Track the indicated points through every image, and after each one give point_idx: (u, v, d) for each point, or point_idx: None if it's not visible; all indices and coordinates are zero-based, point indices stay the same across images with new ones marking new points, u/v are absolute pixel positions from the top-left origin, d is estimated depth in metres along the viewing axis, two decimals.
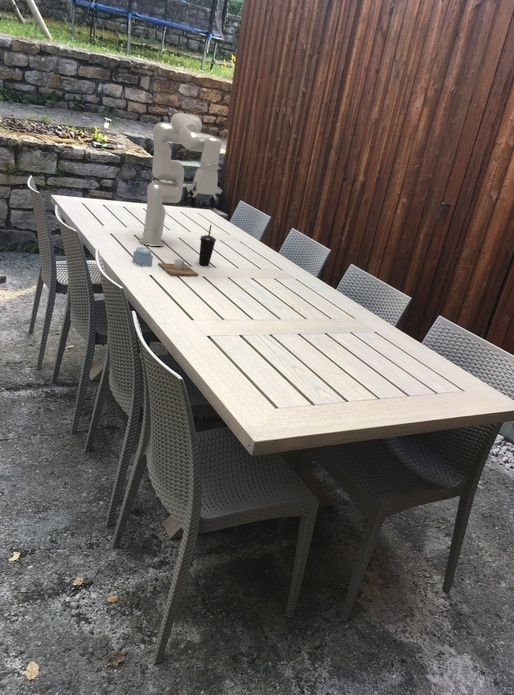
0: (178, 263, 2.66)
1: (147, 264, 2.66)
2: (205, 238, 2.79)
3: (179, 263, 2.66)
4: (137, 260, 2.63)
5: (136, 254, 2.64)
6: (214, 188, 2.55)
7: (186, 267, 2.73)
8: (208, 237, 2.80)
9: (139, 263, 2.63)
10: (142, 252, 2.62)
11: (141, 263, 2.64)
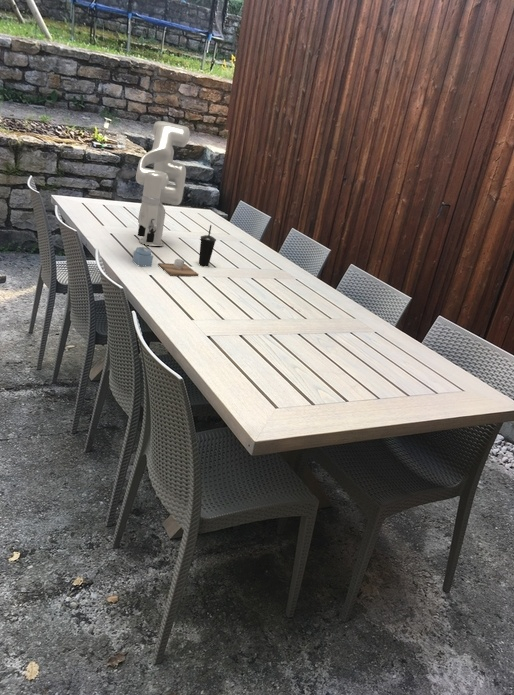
0: (178, 263, 2.66)
1: (147, 264, 2.66)
2: (205, 238, 2.79)
3: (179, 263, 2.66)
4: (137, 260, 2.63)
5: (136, 254, 2.64)
6: None
7: (186, 267, 2.73)
8: (208, 237, 2.80)
9: (139, 263, 2.63)
10: (142, 252, 2.62)
11: (141, 263, 2.64)
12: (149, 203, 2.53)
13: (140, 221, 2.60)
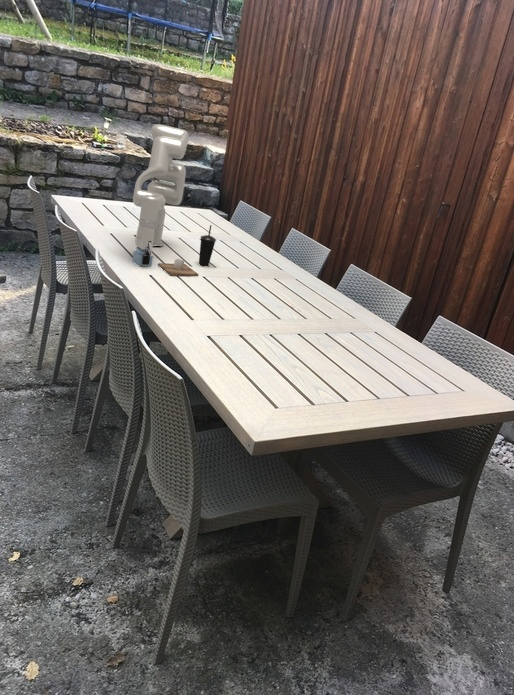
0: (178, 263, 2.66)
1: None
2: (205, 238, 2.79)
3: (179, 263, 2.66)
4: (137, 260, 2.63)
5: (136, 254, 2.64)
6: None
7: (186, 267, 2.73)
8: (208, 237, 2.80)
9: (139, 263, 2.63)
10: (142, 252, 2.62)
11: (141, 263, 2.64)
12: (146, 226, 2.57)
13: (137, 243, 2.64)
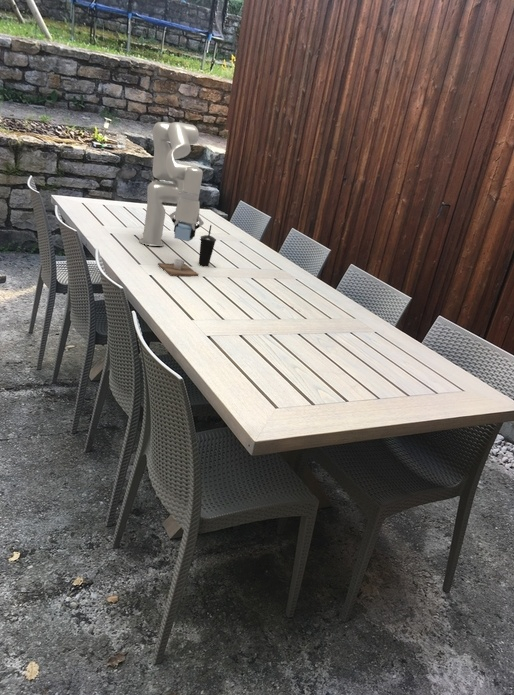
0: (178, 263, 2.66)
1: None
2: (205, 238, 2.79)
3: (179, 263, 2.66)
4: (186, 236, 2.59)
5: (182, 230, 2.58)
6: None
7: (186, 267, 2.73)
8: (208, 237, 2.80)
9: (188, 238, 2.59)
10: (190, 226, 2.58)
11: (189, 238, 2.60)
12: (195, 199, 2.54)
13: (180, 218, 2.57)
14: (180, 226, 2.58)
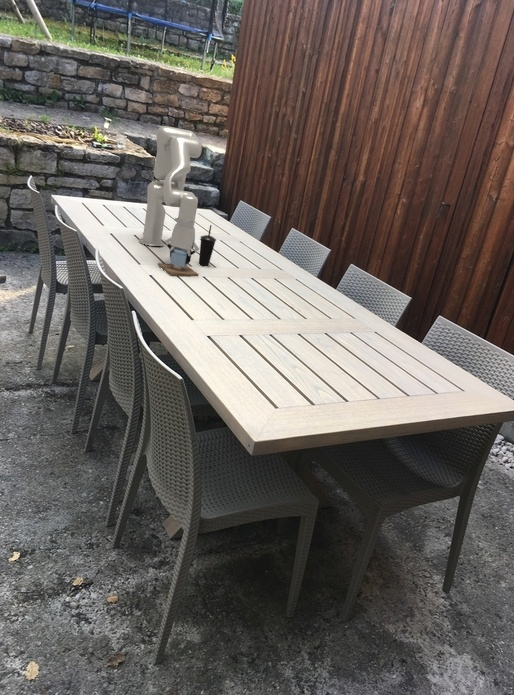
0: None
1: None
2: (205, 238, 2.79)
3: None
4: (181, 261, 2.63)
5: (178, 256, 2.63)
6: None
7: (186, 267, 2.73)
8: (208, 237, 2.80)
9: (184, 264, 2.64)
10: (185, 252, 2.63)
11: (185, 263, 2.65)
12: (191, 226, 2.58)
13: (176, 244, 2.62)
14: (176, 252, 2.63)
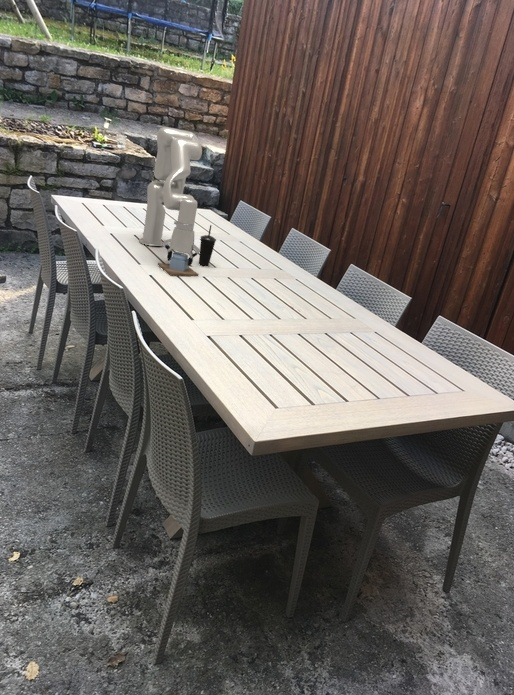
0: None
1: (186, 268, 2.69)
2: (205, 238, 2.79)
3: None
4: (180, 266, 2.64)
5: (177, 261, 2.64)
6: None
7: None
8: (208, 237, 2.80)
9: (183, 269, 2.65)
10: (184, 257, 2.64)
11: (184, 268, 2.66)
12: (190, 229, 2.59)
13: (175, 247, 2.62)
14: (175, 257, 2.64)
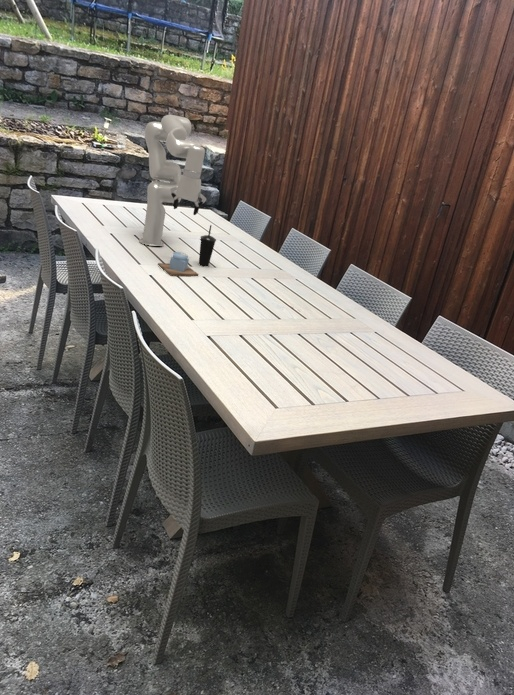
0: None
1: (186, 268, 2.69)
2: (205, 238, 2.79)
3: None
4: (180, 266, 2.64)
5: (177, 261, 2.64)
6: None
7: None
8: (208, 237, 2.80)
9: (183, 269, 2.65)
10: (184, 257, 2.64)
11: (184, 268, 2.66)
12: (197, 177, 2.59)
13: (182, 195, 2.62)
14: (175, 257, 2.64)
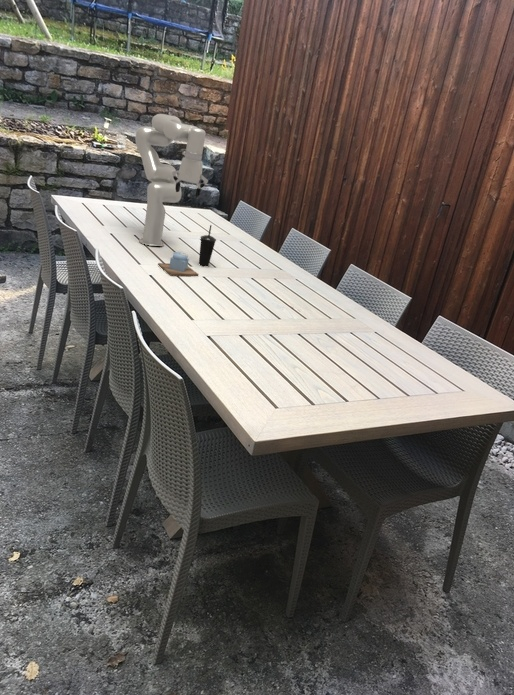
0: None
1: (186, 268, 2.69)
2: (205, 238, 2.79)
3: None
4: (180, 266, 2.64)
5: (177, 261, 2.64)
6: None
7: None
8: (208, 237, 2.80)
9: (183, 269, 2.65)
10: (184, 257, 2.64)
11: (184, 268, 2.66)
12: (198, 159, 2.64)
13: (184, 178, 2.67)
14: (175, 257, 2.64)
